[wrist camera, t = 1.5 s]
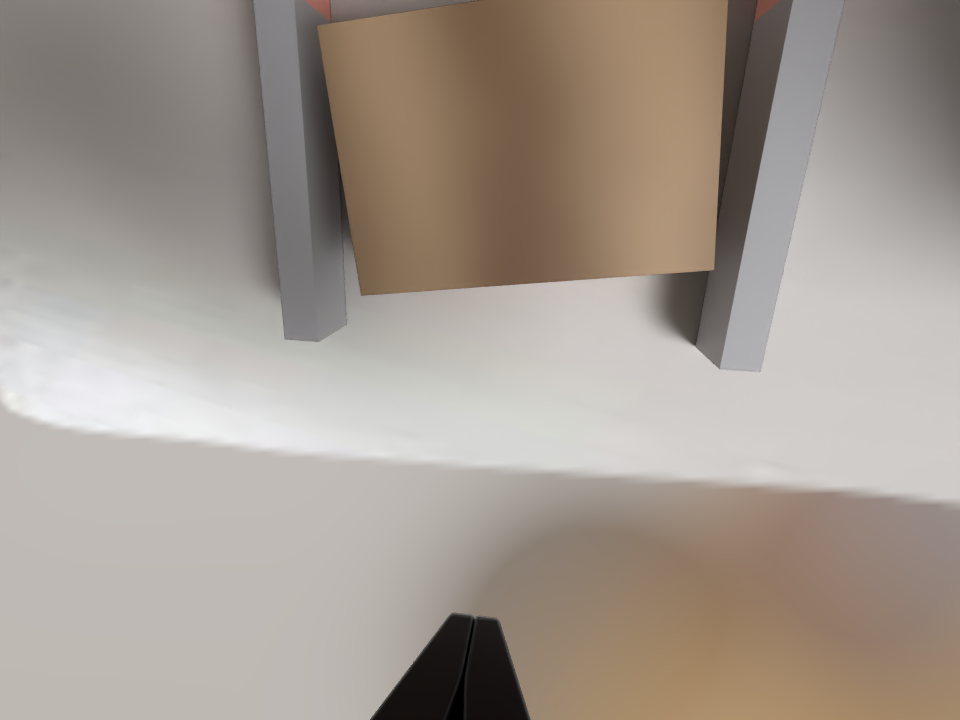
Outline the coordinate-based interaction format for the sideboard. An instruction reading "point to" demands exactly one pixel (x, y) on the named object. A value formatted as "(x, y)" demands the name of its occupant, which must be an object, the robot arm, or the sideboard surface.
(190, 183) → the sideboard surface
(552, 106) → the tan block
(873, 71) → the sideboard surface
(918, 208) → the sideboard surface
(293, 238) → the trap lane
